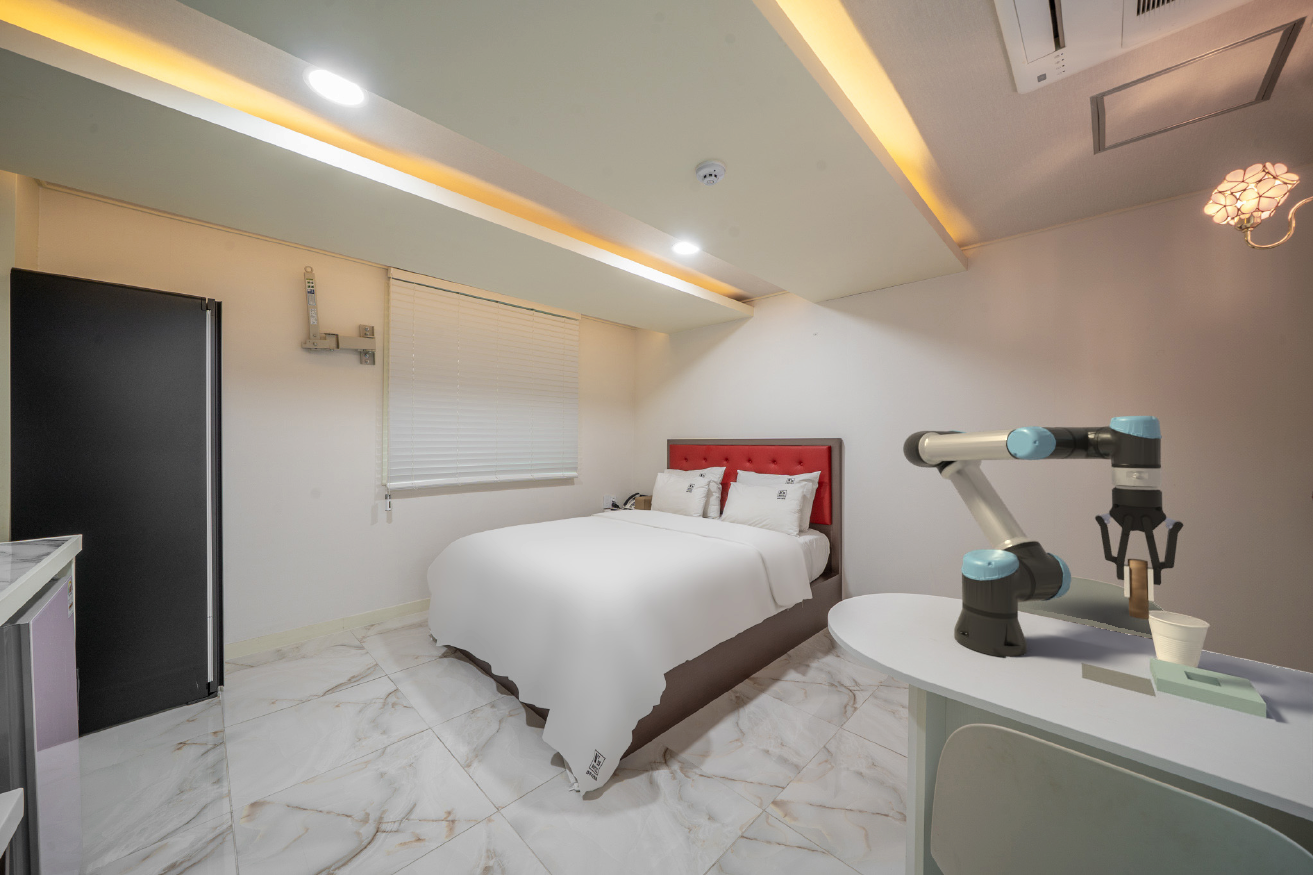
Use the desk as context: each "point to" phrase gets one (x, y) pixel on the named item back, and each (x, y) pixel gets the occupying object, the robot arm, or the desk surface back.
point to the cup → (1177, 637)
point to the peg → (1138, 588)
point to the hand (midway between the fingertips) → (1138, 597)
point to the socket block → (1207, 687)
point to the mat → (1117, 679)
